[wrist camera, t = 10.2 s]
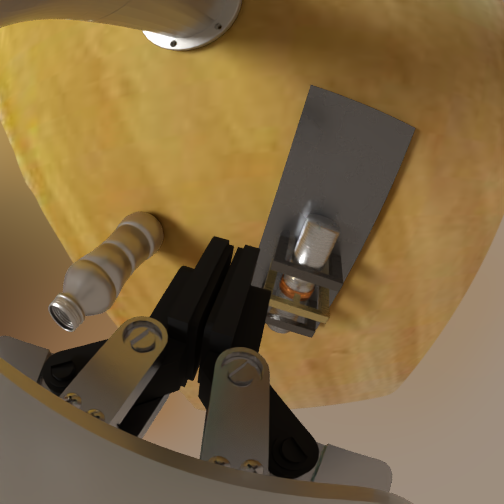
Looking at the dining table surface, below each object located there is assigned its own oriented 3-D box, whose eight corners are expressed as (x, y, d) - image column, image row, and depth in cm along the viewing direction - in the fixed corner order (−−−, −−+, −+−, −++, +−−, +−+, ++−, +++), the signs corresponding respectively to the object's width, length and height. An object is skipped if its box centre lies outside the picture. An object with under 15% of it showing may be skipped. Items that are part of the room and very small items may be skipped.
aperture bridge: (272, 258, 38) (262, 296, 31) (329, 277, 37) (329, 317, 31) (270, 264, 38) (259, 302, 32) (326, 283, 38) (325, 323, 32)
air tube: (306, 209, 33) (304, 225, 30) (340, 222, 33) (343, 239, 30) (267, 307, 42) (262, 328, 38) (295, 316, 42) (292, 337, 38)
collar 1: (280, 234, 36) (273, 260, 31) (340, 256, 36) (343, 284, 31) (277, 242, 36) (270, 269, 32) (337, 263, 36) (338, 292, 31)
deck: (311, 85, 27) (310, 85, 26) (412, 126, 27) (415, 128, 26) (242, 299, 44) (240, 304, 43) (316, 323, 44) (316, 329, 43)
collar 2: (262, 283, 40) (254, 312, 35) (317, 301, 40) (315, 331, 35) (260, 290, 41) (251, 318, 36) (313, 307, 41) (311, 337, 36)
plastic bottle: (130, 201, 39) (32, 282, 22) (171, 214, 39) (80, 310, 22) (129, 238, 43) (45, 324, 26) (167, 252, 42) (90, 351, 26)
